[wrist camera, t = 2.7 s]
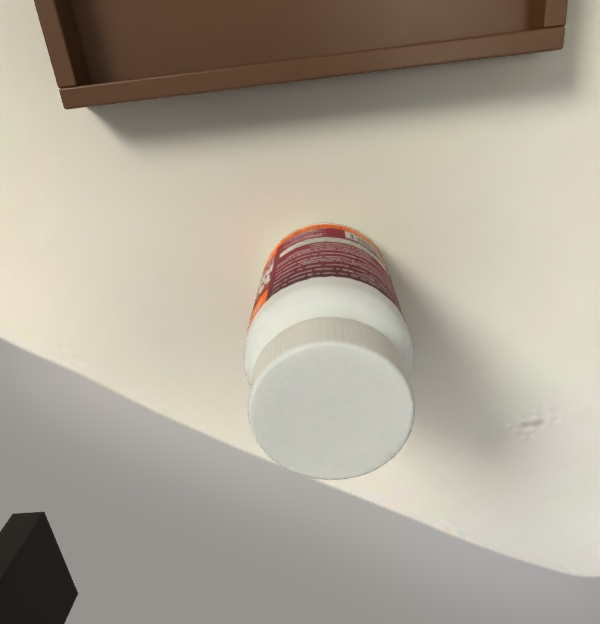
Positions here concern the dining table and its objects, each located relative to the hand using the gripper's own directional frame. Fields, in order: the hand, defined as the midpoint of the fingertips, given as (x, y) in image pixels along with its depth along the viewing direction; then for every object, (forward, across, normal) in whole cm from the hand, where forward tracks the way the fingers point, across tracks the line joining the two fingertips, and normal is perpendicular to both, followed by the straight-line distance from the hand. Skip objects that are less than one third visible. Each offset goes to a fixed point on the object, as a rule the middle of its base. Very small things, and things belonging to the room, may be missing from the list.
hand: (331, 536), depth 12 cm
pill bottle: (+16, 0, 0) cm, 16 cm away
